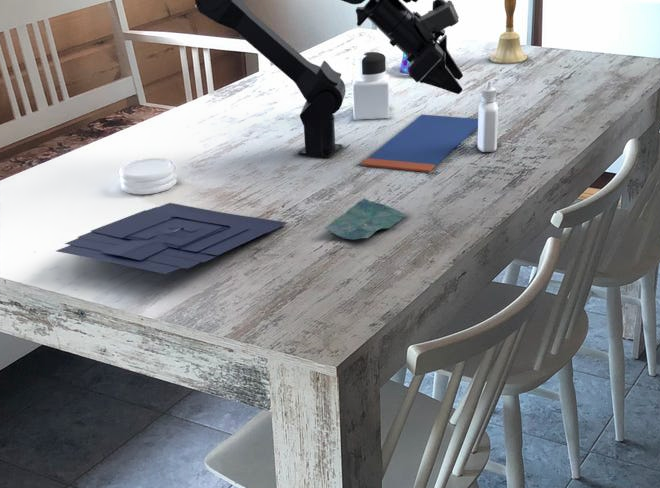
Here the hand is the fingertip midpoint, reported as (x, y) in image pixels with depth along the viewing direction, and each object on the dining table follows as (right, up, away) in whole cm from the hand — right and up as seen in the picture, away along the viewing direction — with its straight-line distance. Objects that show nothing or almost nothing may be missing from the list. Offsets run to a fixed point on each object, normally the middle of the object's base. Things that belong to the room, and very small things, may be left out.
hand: (461, 84), depth 184 cm
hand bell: (+21, +23, +56) cm, 65 cm away
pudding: (0, +20, +54) cm, 57 cm away
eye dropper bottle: (+6, -10, +5) cm, 13 cm away
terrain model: (-19, -29, -22) cm, 41 cm away
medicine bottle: (-13, +3, +28) cm, 31 cm away
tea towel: (-5, -8, +11) cm, 14 cm away
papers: (-49, -33, -23) cm, 63 cm away
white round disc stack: (-56, -18, +2) cm, 58 cm away
